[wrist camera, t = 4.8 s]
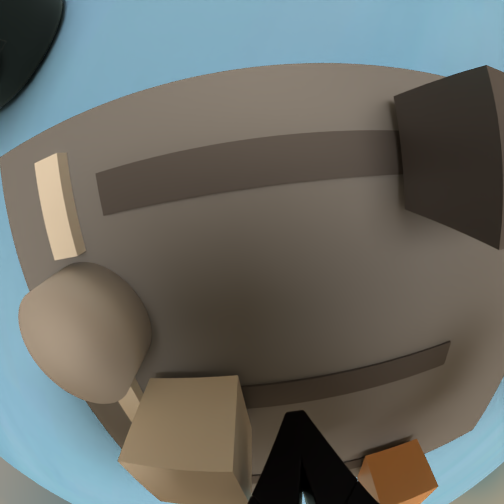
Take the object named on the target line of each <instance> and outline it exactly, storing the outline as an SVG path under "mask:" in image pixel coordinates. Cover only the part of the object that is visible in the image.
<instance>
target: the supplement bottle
mask: <svg viewBox="0 0 504 504" xmlns="http://www.w3.org/2000/svg"><path fill="white" fill-rule="evenodd" d="M62 6H63V3H62V0H0V108H1V107H2V106H4V105H5V104H6V103H8V102H9V101H10V100H11V99H12V98H13V97H14V96H15V95H16V94H17V93H18V92H19V91H20V90H21V89H22V87H23V86H24V85H25V84H26V82H27V81H28V80H29V79H30V77H31V76H32V74H33V73H34V72H35V70H36V69H37V67H38V66H39V64H40V62H41V61H42V59H43V57H44V56H45V54H46V52H47V50H48V48H49V46H50V44H51V42H52V40H53V38H54V36H55V33H56V31H57V28H58V25H59V22H60V19H61V14H62Z"/></svg>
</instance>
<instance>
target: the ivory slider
mask: <svg viewBox="0 0 504 504" xmlns="http://www.w3.org/2000/svg"><path fill="white" fill-rule="evenodd" d="M118 462H119V463H120V464H121V465H122V466H123V467H124V468H125V469H126V470H127V471H128V472H129V473H130V474H131V475H132V476H133V477H134V478H135V479H136V480H137V481H138V482H139V483H140V484H142V485H143V486H144V487H145V488H146V489H147V490H148V491H149V492H150V493H152V494H153V495H154V496H155V497H156V498H157V499H159V500H160V501H164V502H170V503H178V504H247V503H248V501H249V499H250V497H251V496H252V428H251V424H250V420H249V416H248V413H247V409H246V405H245V401H244V397H243V393H242V389H241V385H240V381H239V377H238V375H234V376H220V377H200V378H150V379H149V382H148V384H147V386H146V389H145V391H144V394H143V396H142V399H141V401H140V404H139V406H138V409H137V411H136V414H135V416H134V419H133V421H132V424H131V427H130V429H129V432H128V434H127V437H126V440H125V442H124V445H123V448H122V450H121V453H120V456H119V459H118Z"/></svg>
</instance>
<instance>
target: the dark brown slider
mask: <svg viewBox="0 0 504 504" xmlns="http://www.w3.org/2000/svg"><path fill="white" fill-rule="evenodd" d="M393 97H394V102H395V108H396V114H397V121H398V127H399V135H400V143H401V153H402V164H403V177H404V197H405V210H408V211H410V212H413V213H415V214H418V215H421V216H423V217H426V218H428V219H431V220H433V221H436V222H438V223H440V224H443V225H445V226H448V227H450V228H452V229H455V230H457V231H459V232H461V233H464V234H466V235H468V236H470V237H472V238H475V239H477V240H479V241H481V242H483V243H485V244H487V245H489V246H491V247H493V248H495V249H497V250H502V249H504V72H501V71H499V70H497V69H494V68H492V67H490V66H487V65H485V66H481V67H478V68H474V69H471V70H467V71H464V72H461V73H458V74H454V75H451V76H448V77H445V78H442V79H439V80H436V81H433V82H430V83H428V84H425V85H422V86H419V87H416V88H414V89H411V90H408V91H406V92H403V93H401V94H398V95H395V96H393Z"/></svg>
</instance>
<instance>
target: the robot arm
mask: <svg viewBox="0 0 504 504" xmlns="http://www.w3.org/2000/svg"><path fill="white" fill-rule="evenodd" d="M302 494H304V498H305V502H306V504H380V503H379V502H377V501H376V500H375V499H374V498H373V497H372V496H371V494H370V493H369V492H368V491H367V490H366V489H365V488H364V487H363V485H362V484H361V483H360V482H359V481H357V478H356V477H355V476H354V475H353V473H352V472H351V471H350V470H349V468H348V467H347V466H346V465H345V463H344V462H343V461H342V459H341V458H340V457H339V456H338V454H337V453H336V452H335V450H334V449H333V448H332V447H331V445H330V444H329V443H328V441H327V440H326V439H325V437H324V436H323V435H322V433H321V432H320V431H319V429H318V428H317V427H316V425H315V424H314V423H313V421H312V420H311V419H310V417H309V416H308V415H307V413H306V412H305V411H304V410H297V411H290V412H286V413H285V415H284V418H283V420H282V423H281V426H280V428H279V431H278V434H277V436H276V439H275V441H274V444H273V446H272V449H271V451H270V454H269V456H268V459H267V461H266V463H265V466H264V468H263V470H262V473H261V475H260V477H259V480H258V482H257V484H256V486H255V488H254V491H253V493H252V496H251V497H250V499H249V501H248V503H247V504H302Z"/></svg>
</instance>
